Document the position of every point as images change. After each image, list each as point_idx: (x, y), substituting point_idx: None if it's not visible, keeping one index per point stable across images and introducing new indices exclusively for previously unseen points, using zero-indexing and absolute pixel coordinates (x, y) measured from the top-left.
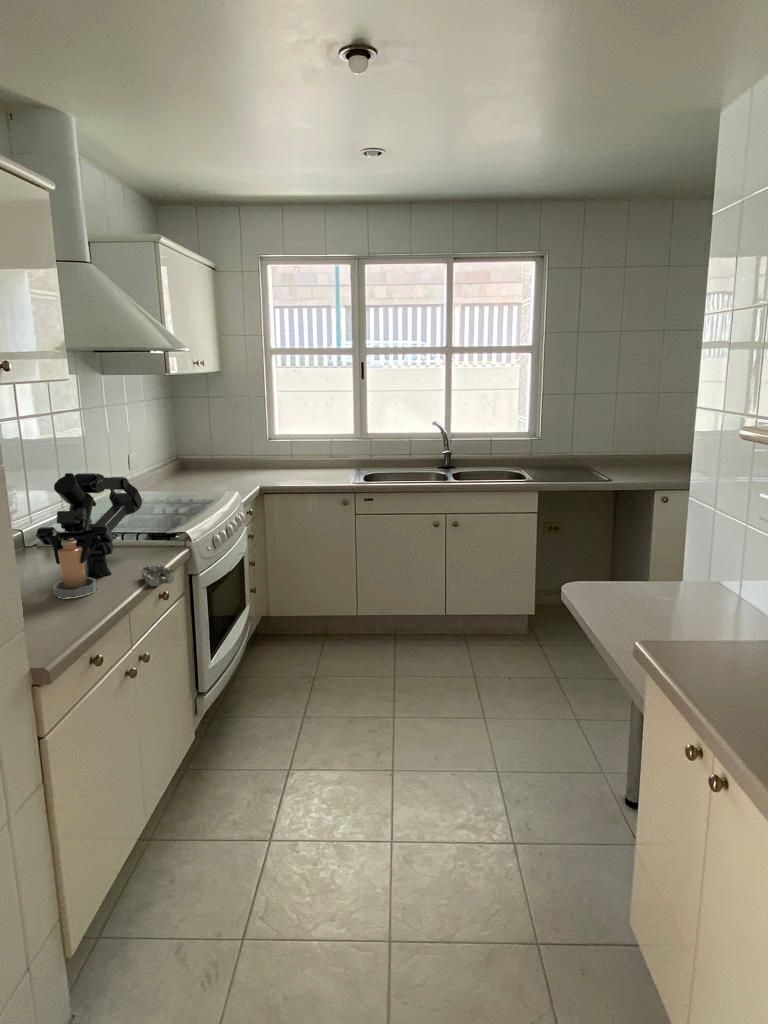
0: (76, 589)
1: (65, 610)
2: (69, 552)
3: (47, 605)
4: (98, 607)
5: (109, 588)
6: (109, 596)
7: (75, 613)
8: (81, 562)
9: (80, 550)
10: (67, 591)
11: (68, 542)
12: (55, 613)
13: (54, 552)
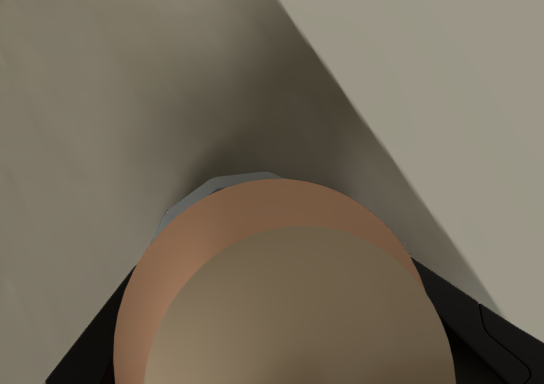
0: (197, 191)
1: (184, 64)
2: (213, 197)
3: (294, 117)
4: (47, 93)
5: None
6: (51, 227)
7: (123, 33)
8: None
9: (120, 330)
10: (238, 175)
11: (274, 310)
12: (210, 36)
13: (457, 288)
